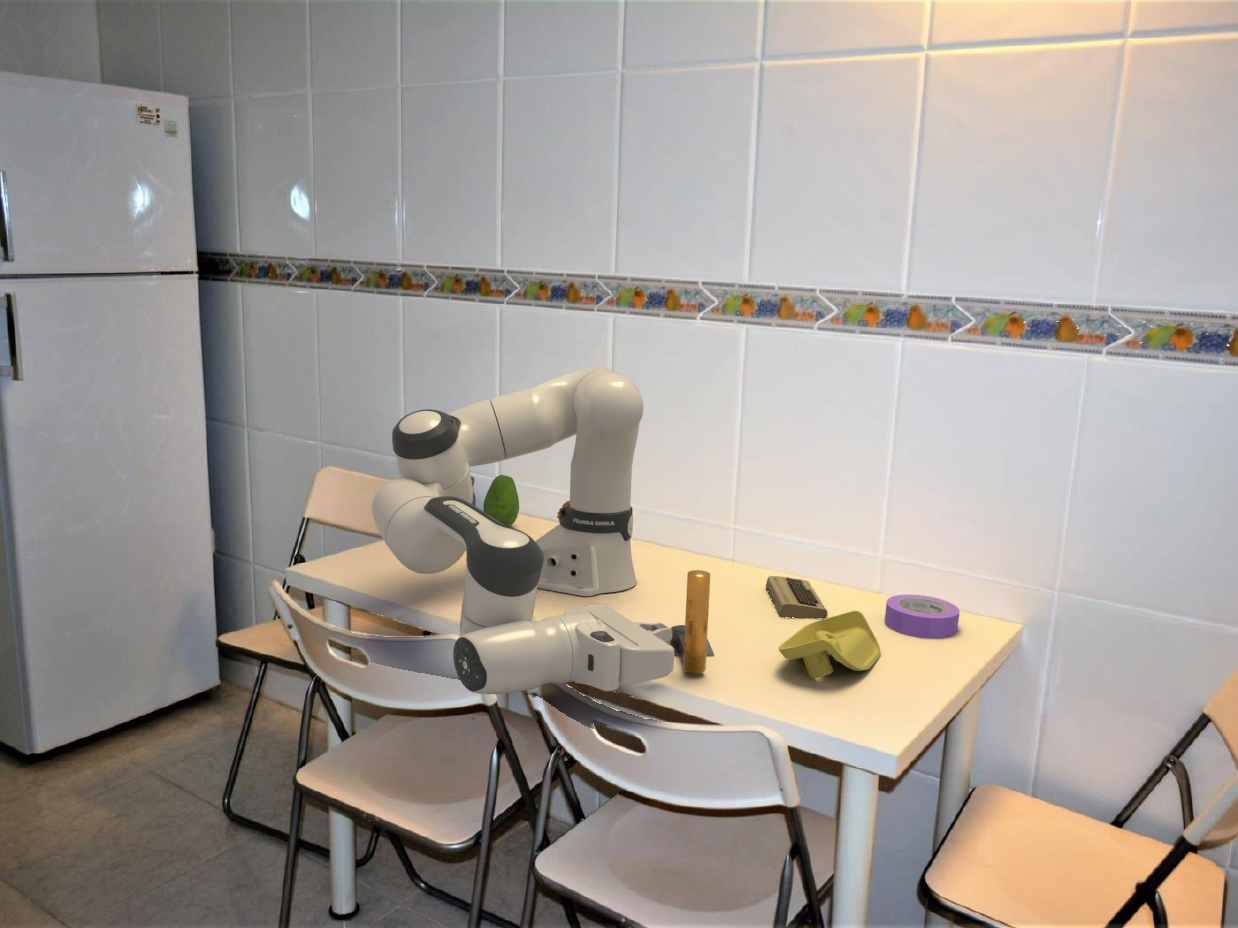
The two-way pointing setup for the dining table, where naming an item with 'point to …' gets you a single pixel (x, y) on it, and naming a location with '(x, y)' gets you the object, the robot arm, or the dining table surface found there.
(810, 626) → the plastic component
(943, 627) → the masking tape
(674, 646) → the pivot plate
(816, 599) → the computer
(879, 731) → the dining table surface
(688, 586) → the crank handle
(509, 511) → the avocado
